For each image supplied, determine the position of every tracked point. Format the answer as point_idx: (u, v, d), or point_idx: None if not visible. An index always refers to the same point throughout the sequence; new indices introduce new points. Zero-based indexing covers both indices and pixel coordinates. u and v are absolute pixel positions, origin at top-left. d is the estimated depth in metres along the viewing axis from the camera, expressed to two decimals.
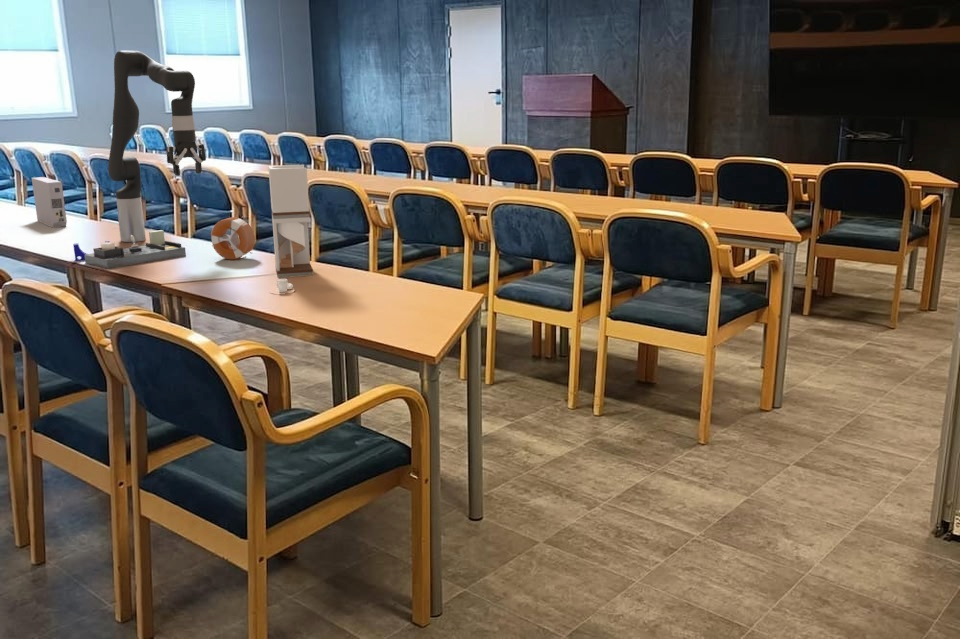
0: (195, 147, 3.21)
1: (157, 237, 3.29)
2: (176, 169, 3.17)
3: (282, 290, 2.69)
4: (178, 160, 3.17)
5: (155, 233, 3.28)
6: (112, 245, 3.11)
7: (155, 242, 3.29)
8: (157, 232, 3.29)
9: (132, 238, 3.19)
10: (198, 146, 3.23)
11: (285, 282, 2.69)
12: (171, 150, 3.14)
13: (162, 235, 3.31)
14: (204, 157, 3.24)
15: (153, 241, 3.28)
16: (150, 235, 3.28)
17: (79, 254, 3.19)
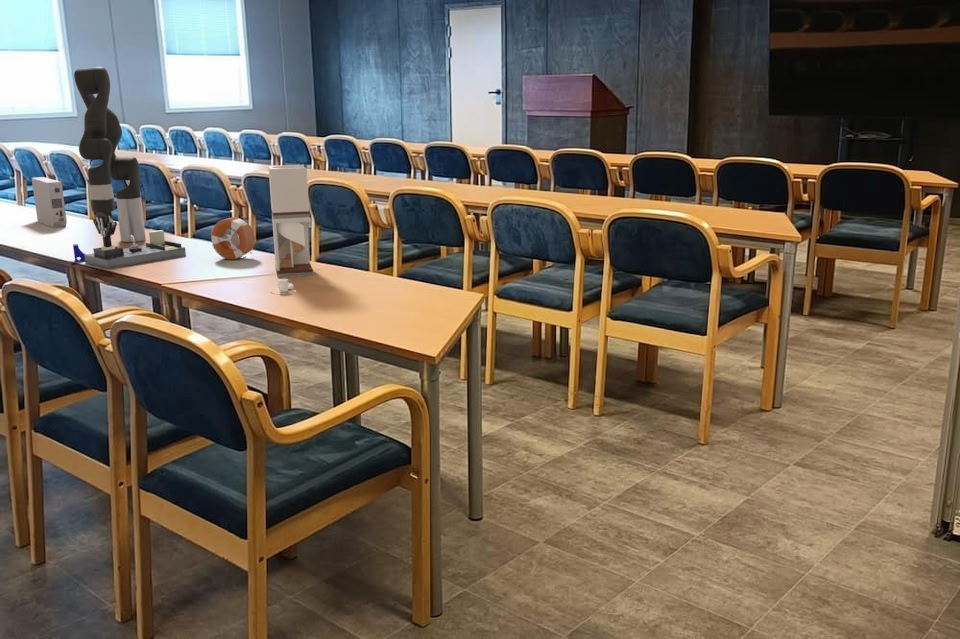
0: None
1: (157, 237, 3.29)
2: (110, 240, 3.11)
3: (283, 290, 2.69)
4: None
5: (155, 233, 3.28)
6: (112, 248, 3.11)
7: (155, 242, 3.29)
8: (157, 232, 3.29)
9: (132, 238, 3.19)
10: None
11: (286, 282, 2.69)
12: None
13: (162, 235, 3.31)
14: None
15: (153, 241, 3.28)
16: (150, 235, 3.28)
17: (79, 255, 3.17)
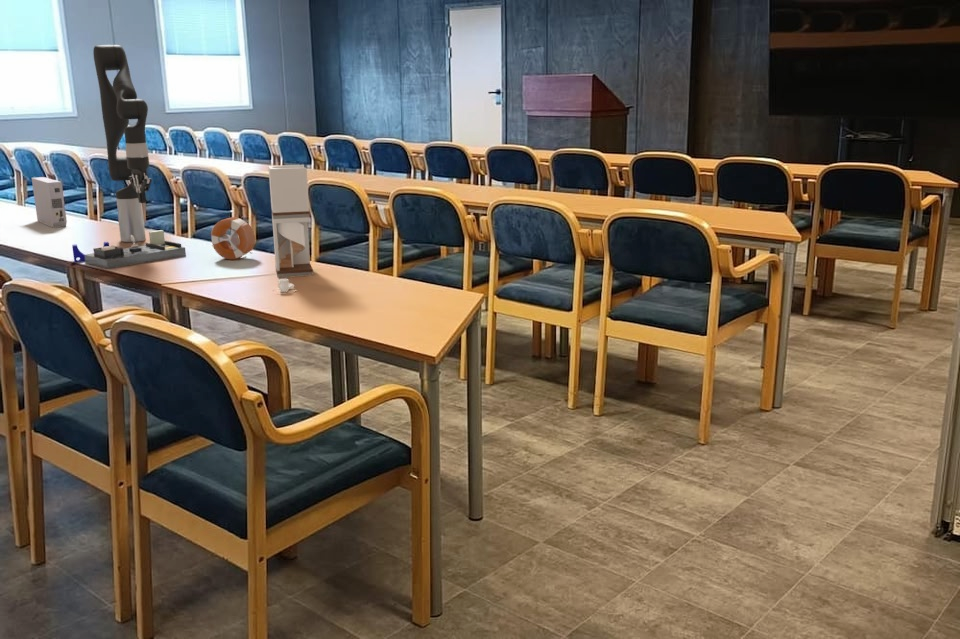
0: None
1: (157, 237, 3.29)
2: None
3: (283, 290, 2.69)
4: None
5: (155, 233, 3.28)
6: None
7: (155, 242, 3.29)
8: (157, 232, 3.29)
9: (132, 238, 3.19)
10: None
11: (286, 282, 2.69)
12: None
13: (162, 235, 3.31)
14: None
15: (153, 241, 3.28)
16: (150, 235, 3.28)
17: (78, 255, 3.17)
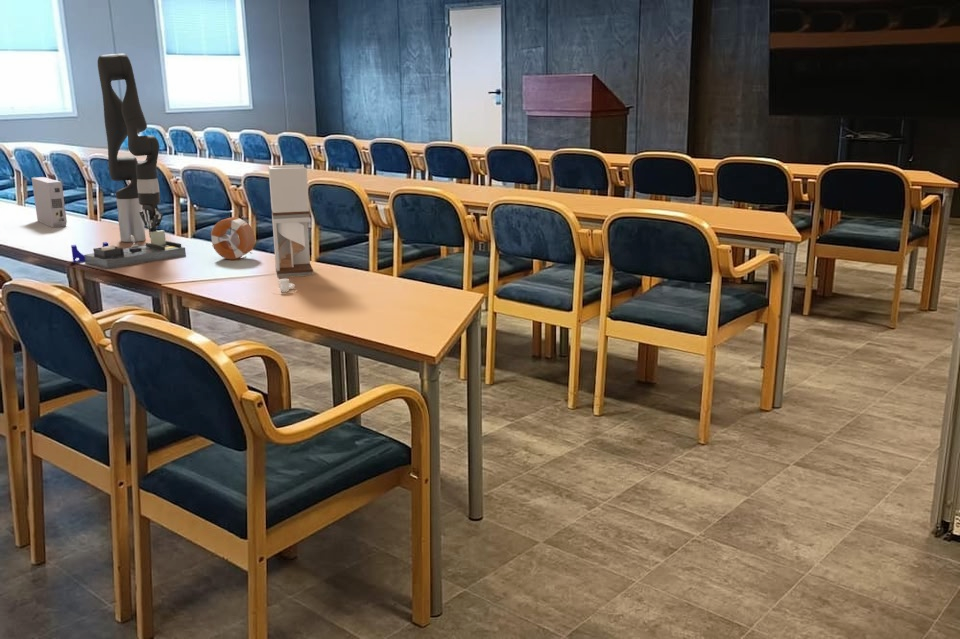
0: None
1: (158, 237, 3.29)
2: None
3: (284, 290, 2.69)
4: None
5: (156, 233, 3.28)
6: None
7: (156, 242, 3.28)
8: (158, 232, 3.28)
9: (132, 238, 3.19)
10: None
11: (287, 282, 2.69)
12: None
13: (163, 235, 3.30)
14: None
15: (154, 241, 3.28)
16: (151, 235, 3.27)
17: (77, 255, 3.16)
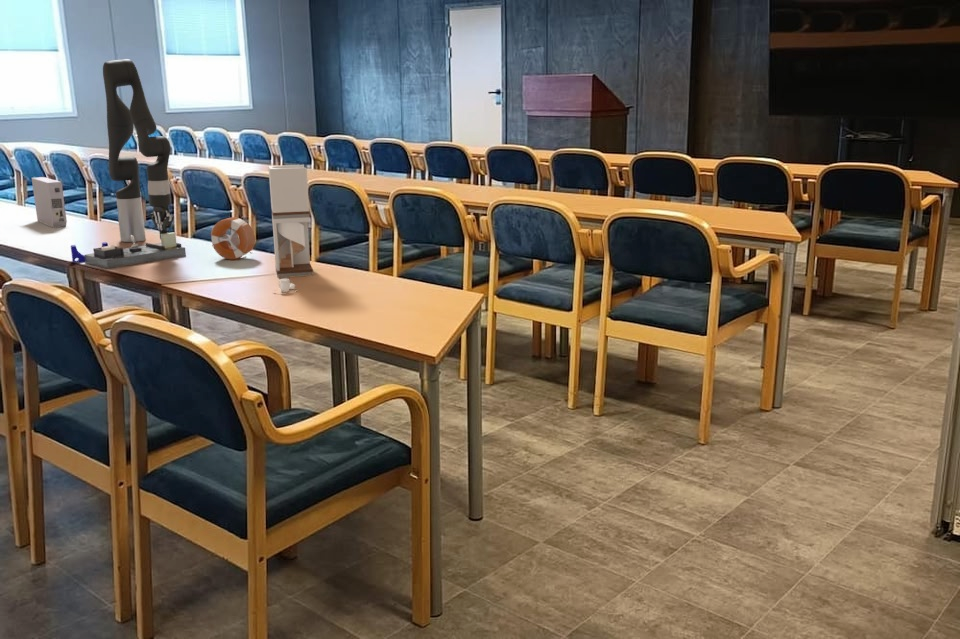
0: None
1: (169, 239, 3.24)
2: None
3: (284, 290, 2.69)
4: None
5: (167, 235, 3.23)
6: None
7: (167, 244, 3.24)
8: (169, 234, 3.24)
9: (132, 238, 3.19)
10: None
11: (287, 282, 2.69)
12: None
13: (174, 237, 3.25)
14: None
15: (165, 243, 3.23)
16: (162, 237, 3.23)
17: (77, 256, 3.16)
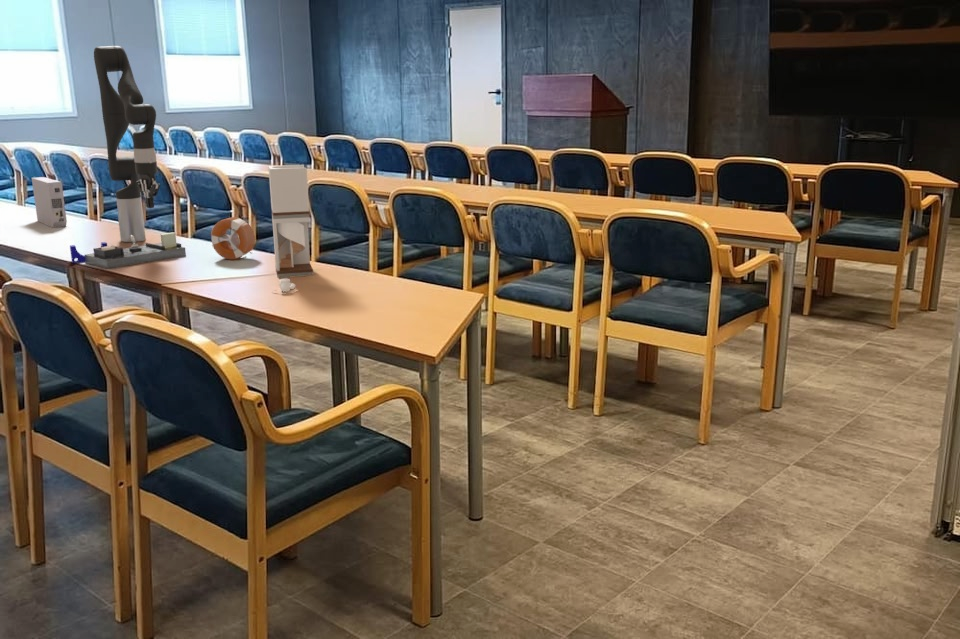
0: None
1: (169, 239, 3.24)
2: None
3: (284, 290, 2.69)
4: None
5: (167, 235, 3.23)
6: None
7: (167, 244, 3.24)
8: (169, 234, 3.24)
9: (132, 238, 3.19)
10: None
11: (287, 282, 2.69)
12: None
13: (174, 237, 3.25)
14: None
15: (165, 243, 3.23)
16: (162, 237, 3.22)
17: (77, 256, 3.15)
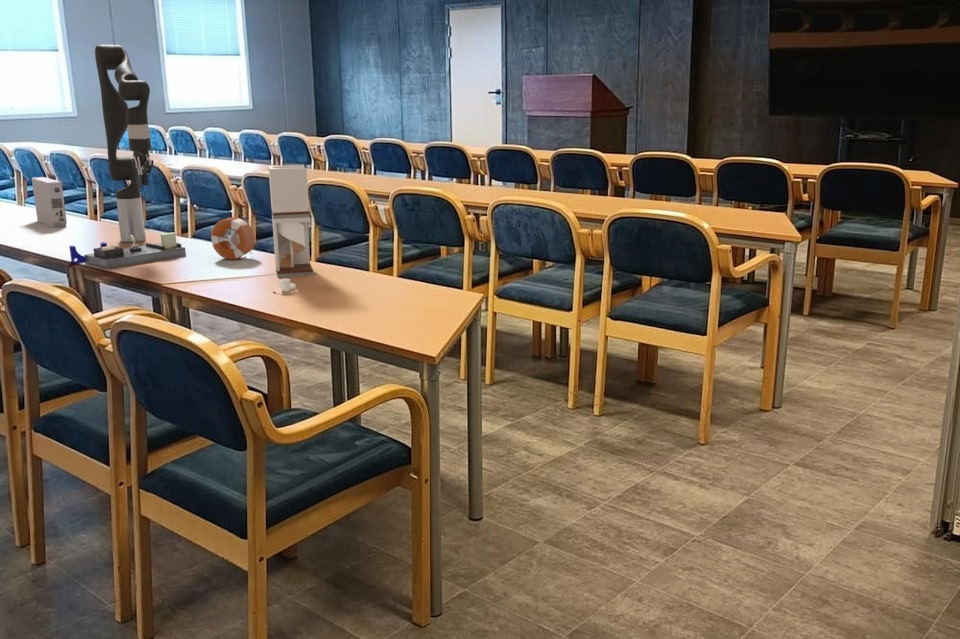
0: None
1: (169, 239, 3.24)
2: None
3: (285, 290, 2.69)
4: None
5: (167, 235, 3.23)
6: None
7: (167, 244, 3.24)
8: (169, 234, 3.24)
9: (132, 238, 3.19)
10: None
11: (288, 282, 2.69)
12: None
13: (174, 237, 3.25)
14: None
15: (165, 243, 3.23)
16: (162, 237, 3.22)
17: (76, 256, 3.15)
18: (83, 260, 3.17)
